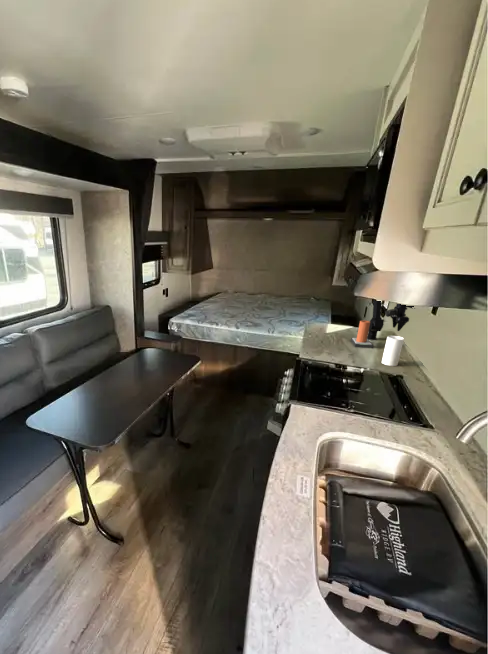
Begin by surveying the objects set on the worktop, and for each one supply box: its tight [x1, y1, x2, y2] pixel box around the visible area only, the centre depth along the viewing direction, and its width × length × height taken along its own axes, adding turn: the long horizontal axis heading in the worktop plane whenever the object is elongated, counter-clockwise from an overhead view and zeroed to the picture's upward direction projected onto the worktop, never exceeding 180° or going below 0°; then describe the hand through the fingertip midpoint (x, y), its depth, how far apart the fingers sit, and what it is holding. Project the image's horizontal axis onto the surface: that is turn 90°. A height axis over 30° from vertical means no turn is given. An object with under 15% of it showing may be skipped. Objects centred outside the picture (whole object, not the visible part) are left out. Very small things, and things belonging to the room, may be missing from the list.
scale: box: [350, 337, 374, 349], centre depth 229 cm, size 15×11×3 cm
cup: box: [381, 335, 405, 367], centre depth 192 cm, size 8×8×16 cm
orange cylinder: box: [356, 319, 370, 343], centre depth 225 cm, size 6×6×14 cm
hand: (396, 329), depth 217 cm, fingers open, 9 cm apart
